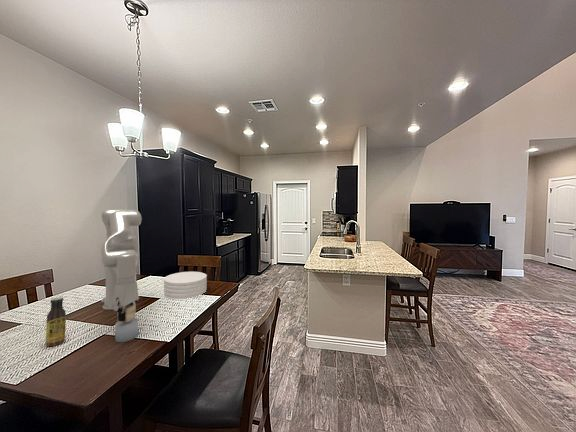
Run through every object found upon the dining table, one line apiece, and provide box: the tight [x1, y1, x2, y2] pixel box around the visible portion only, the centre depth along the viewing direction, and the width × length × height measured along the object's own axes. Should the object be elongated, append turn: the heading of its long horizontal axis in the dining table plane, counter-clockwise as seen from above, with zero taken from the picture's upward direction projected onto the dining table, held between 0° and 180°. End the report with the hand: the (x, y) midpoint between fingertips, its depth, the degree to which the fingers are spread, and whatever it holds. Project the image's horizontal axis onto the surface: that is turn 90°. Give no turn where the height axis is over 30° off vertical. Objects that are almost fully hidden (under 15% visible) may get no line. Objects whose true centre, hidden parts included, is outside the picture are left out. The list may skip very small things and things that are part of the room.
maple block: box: [120, 304, 137, 322], centre depth 114 cm, size 5×5×6 cm
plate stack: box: [163, 271, 208, 300], centre depth 174 cm, size 28×28×12 cm
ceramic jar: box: [114, 317, 139, 343], centre depth 114 cm, size 9×9×7 cm
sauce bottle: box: [45, 296, 67, 347], centre depth 108 cm, size 7×6×20 cm
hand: (126, 317), depth 114 cm, fingers closed on maple block, 4 cm apart
